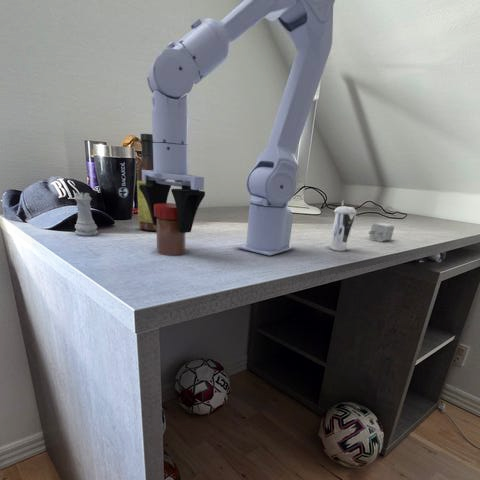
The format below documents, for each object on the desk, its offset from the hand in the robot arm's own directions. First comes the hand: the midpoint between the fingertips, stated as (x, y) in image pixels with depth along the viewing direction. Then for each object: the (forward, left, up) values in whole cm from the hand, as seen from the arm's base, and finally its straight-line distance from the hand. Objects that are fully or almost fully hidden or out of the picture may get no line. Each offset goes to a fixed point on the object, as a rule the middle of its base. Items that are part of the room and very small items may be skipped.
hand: (171, 228), depth 62 cm
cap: (0, 0, +4) cm, 4 cm away
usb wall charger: (-51, +23, -4) cm, 56 cm away
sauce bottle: (-11, -18, -4) cm, 22 cm away
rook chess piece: (+4, -21, -4) cm, 22 cm away
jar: (0, 0, -4) cm, 4 cm away
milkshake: (-31, +20, -4) cm, 37 cm away
